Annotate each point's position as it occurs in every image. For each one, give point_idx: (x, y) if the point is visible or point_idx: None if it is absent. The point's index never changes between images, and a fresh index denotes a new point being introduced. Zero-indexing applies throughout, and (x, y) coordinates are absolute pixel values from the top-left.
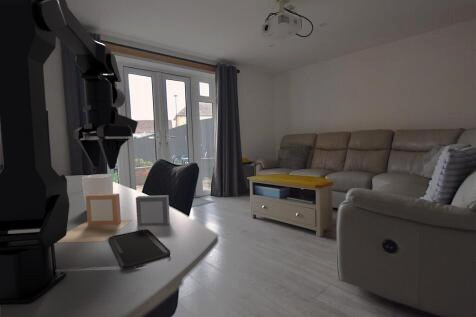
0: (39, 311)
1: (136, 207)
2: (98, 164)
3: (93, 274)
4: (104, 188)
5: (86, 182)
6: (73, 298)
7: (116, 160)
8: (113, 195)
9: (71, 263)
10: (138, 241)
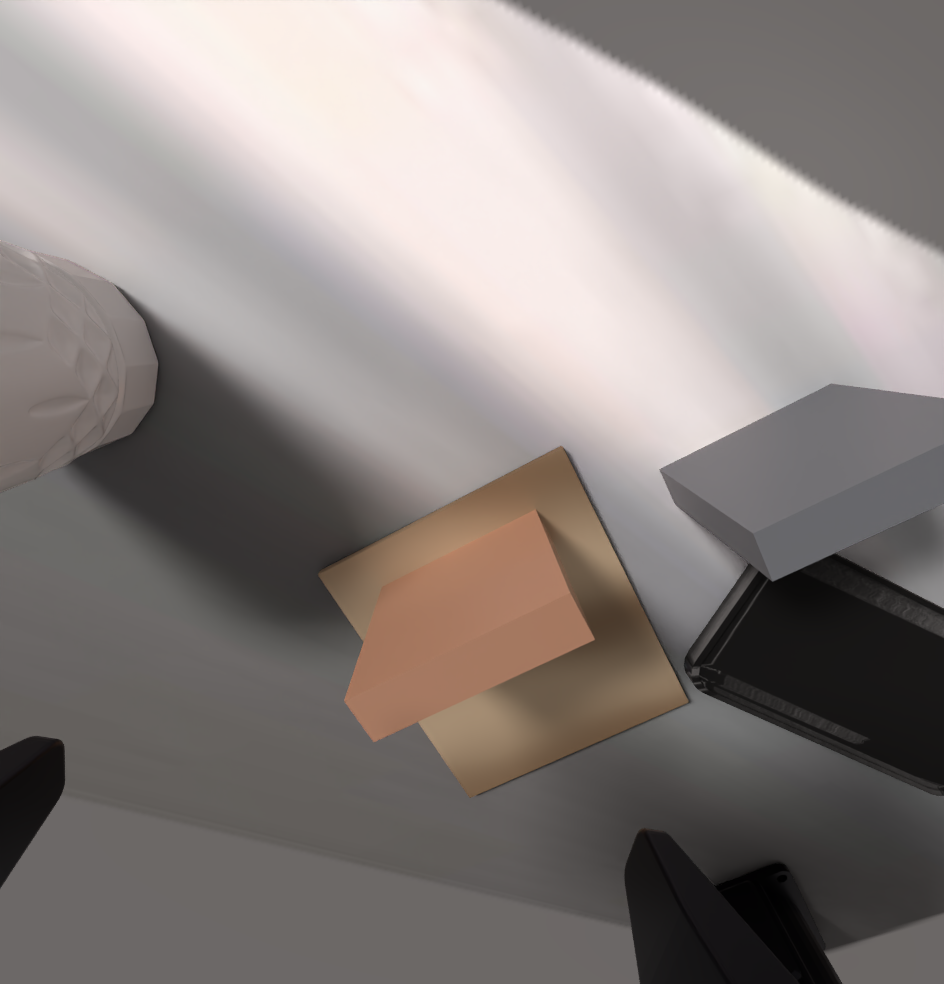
0: (863, 938)
1: (731, 547)
2: (31, 767)
3: (852, 825)
4: (29, 393)
5: None
6: (897, 894)
7: (773, 961)
8: (574, 645)
9: (719, 820)
10: (852, 650)
